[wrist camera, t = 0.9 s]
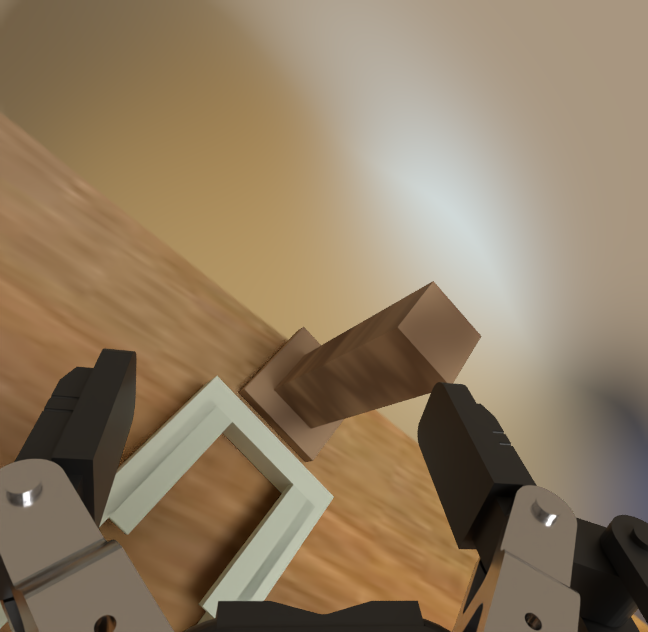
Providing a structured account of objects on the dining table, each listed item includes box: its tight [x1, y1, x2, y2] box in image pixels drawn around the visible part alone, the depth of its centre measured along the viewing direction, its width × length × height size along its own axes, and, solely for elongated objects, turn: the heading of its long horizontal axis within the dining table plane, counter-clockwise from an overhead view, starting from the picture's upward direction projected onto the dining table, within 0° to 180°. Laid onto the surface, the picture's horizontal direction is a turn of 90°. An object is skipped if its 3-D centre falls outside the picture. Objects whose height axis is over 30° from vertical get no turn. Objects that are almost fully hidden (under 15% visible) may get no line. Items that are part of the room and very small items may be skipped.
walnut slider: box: [238, 281, 481, 462], centre depth 32 cm, size 7×7×16 cm
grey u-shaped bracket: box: [0, 376, 334, 628], centre depth 28 cm, size 11×20×3 cm, turn 140°
